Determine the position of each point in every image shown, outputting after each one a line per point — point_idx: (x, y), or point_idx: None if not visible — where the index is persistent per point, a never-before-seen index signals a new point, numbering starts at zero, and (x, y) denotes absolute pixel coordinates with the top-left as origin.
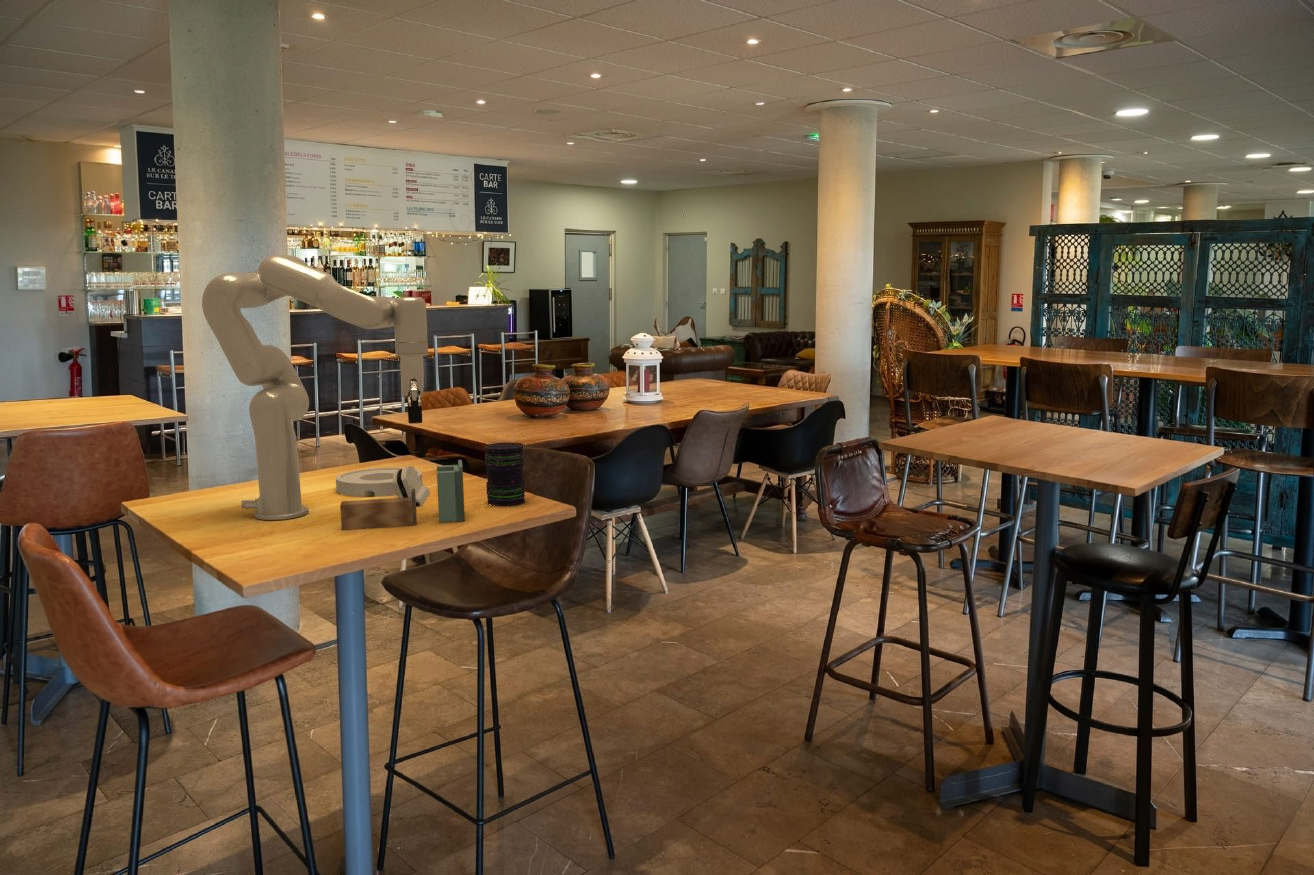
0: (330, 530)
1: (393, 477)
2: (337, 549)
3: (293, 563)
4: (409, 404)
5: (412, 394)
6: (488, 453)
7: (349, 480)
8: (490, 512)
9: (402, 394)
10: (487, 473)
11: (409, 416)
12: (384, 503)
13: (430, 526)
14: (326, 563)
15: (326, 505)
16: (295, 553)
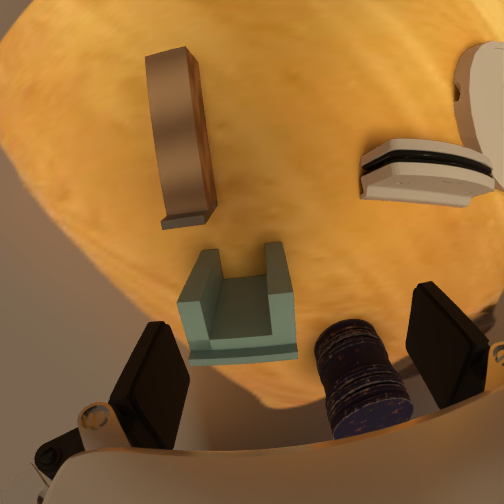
0: (166, 50)
1: (418, 141)
2: (49, 116)
3: (9, 92)
4: (81, 419)
5: (18, 477)
6: (357, 398)
7: (497, 62)
8: None
9: (62, 465)
10: (358, 360)
11: (139, 352)
12: (157, 152)
13: (174, 237)
14: (4, 134)
15: (392, 14)
16: (43, 66)
